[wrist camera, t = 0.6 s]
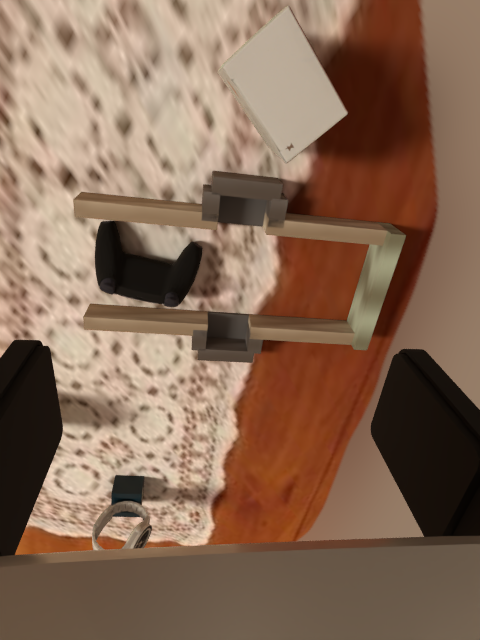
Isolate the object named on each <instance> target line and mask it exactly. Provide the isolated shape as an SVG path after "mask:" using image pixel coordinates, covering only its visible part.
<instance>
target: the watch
mask: <svg viewBox="0 0 480 640" xmlns="http://www.w3.org/2000/svg"><path fill="white" fill-rule="evenodd" d="M143 488H144V476H120V475H115V480H114V485H113V489H112V504H111V505H110V506H109V507H108V508H106V509H105V510H104V512H103V513H102V514H101V515H100V516H99V518H98V519H97V521H96V522H95V524H94V526H93V533H92V542H93V549H94V550H104V549H103V548H102V547H100V546H99V545H98V543H97V542H96V540H97V538H98V535H99V534H100V532H101V531H102V529H103V528H104V526H105V525H106V524H107V523H108V522H109V521H110V520H111V519H112V516H115V517H141V518H143V520H144V521H143V522H141V523H140V524H138V525H137V526H136V527H135V529H134V530H133V531H132V533H131V534H130V536H129V538H128V540H127V542H126V544H125V545H124V546H123V547H122V549H136V548H144V547H145V545H146V543H147V541H148V539H149V536H150V534H151V530H152V526H151V525H150V524H149V521H150V517H149V514H148V512H147V510H146V509H145V508H144V507H143V506H142V500H143Z"/></svg>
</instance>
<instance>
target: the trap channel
mask: <svg viewBox="0 0 480 640" xmlns="http://www.w3.org/2000/svg"><path fill="white" fill-rule="evenodd" d="M282 187H283V184H282V183H281V182H280V180H279V179H278V178H272V177H263V176H254V175H245V174H237V173H228V172H219V171H213V172H212V184H211V185H204V184H203V197H202V204H193V203H184V202H174V201H164V200H154V199H144V198H135V197H125V196H115V195H105V194H95V193H86V192H81V193H80V194H79V195H78V196H77V197H76V198H75V199H73V202H74V214H75V217H83V218H94V219H105V220H115V221H126V222H137V223H147V224H158V225H169V226H179V227H190V228H201V229H211V230H217V225H218V215H219V204H220V195H223V196H232V197H242V198H251V199H261V200H267V203H266V209H265V216H264V222H263V228H264V230H265V233H266V235H275V236H286V237H297V238H307V239H318V240H329V241H339V242H350V243H361V244H370V245H369V249H368V252H367V255H366V259H365V262H364V265H363V269H362V272H361V275H360V279H359V282H358V285H357V289H356V292H355V295H354V299H353V302H352V305H351V309H350V312H349V315H348V319H347V321H343V320H328V319H313V318H298V317H282V316H267V315H252V314H249V319H248V325H247V332H246V338H245V339H235V338H218V337H207V329H208V312H206V311H191V310H176V309H160V308H145V307H130V306H114V305H99V304H90V305H89V307H88V309H87V311H86V313H85V315H84V317H83V318H84V330H102V331H119V332H137V333H155V334H172V335H190V336H192V350H198V360H207V361H228V362H248V363H252V362H253V356H254V353H259V354H261V348H262V343H263V340H277V341H295V342H313V343H330V344H348V345H352V347H353V348H354V349H355V350H367V348H368V345H369V342H370V339H371V337H372V334H373V331H374V328H375V325H376V322H377V319H378V316H379V313H380V310H381V307H382V305H383V302H384V299H385V296H386V293H387V290H388V287H389V284H390V281H391V278H392V275H393V273H394V270H395V267H396V264H397V261H398V258H399V255H400V252H401V249H402V246H403V243H404V241H405V238H406V235H405V234H404V233H402V232H401V231H400V230H398V229H397V228H395V227H394V226H393V225H391V224H389V223H380V222H370V221H360V220H350V219H340V218H331V217H321V216H311V215H301V214H291V213H286V211H287V205H288V199H287V198H286V197H285V195H284V194H283V193H282Z"/></svg>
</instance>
